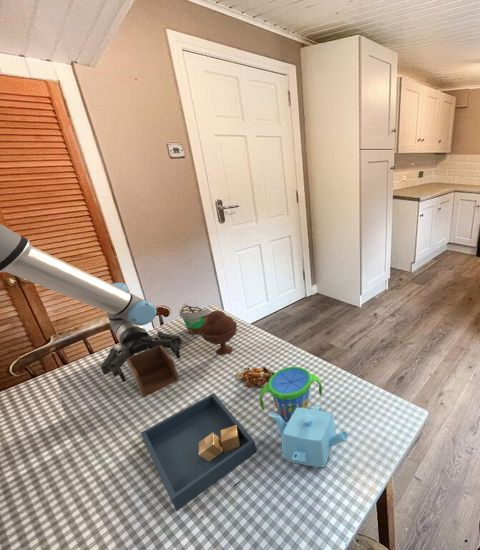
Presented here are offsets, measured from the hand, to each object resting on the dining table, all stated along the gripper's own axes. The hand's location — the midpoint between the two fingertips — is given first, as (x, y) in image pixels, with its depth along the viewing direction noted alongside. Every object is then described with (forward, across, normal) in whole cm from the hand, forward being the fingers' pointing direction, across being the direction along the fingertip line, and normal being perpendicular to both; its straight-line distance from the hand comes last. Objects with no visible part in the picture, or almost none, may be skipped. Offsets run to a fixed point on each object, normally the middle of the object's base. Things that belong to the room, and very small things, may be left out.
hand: (152, 365), depth 86 cm
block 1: (+36, -3, -4) cm, 36 cm away
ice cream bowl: (-2, -20, -7) cm, 21 cm away
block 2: (+37, -5, -5) cm, 38 cm away
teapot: (+50, -16, -7) cm, 53 cm away
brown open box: (-2, 0, -7) cm, 7 cm away
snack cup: (+37, -21, -7) cm, 44 cm away
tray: (+30, 0, -7) cm, 31 cm away
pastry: (+18, -20, -7) cm, 28 cm away
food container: (-22, -18, -7) cm, 29 cm away
